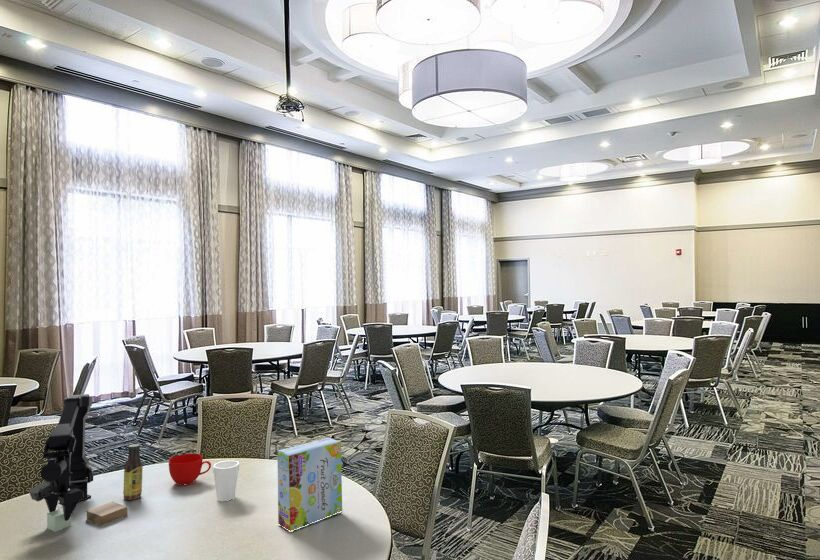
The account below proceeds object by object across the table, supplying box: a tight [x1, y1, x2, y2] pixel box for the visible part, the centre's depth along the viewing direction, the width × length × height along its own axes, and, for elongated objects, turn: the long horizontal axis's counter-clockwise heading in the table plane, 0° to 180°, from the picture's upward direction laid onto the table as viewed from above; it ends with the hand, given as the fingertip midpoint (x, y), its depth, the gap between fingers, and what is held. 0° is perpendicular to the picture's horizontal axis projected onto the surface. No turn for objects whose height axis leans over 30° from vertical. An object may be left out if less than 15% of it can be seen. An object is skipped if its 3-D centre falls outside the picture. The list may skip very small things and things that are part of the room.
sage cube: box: [46, 507, 72, 533], centre depth 172 cm, size 5×5×5 cm
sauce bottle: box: [122, 443, 144, 501], centre depth 197 cm, size 7×6×20 cm
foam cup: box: [212, 459, 240, 503], centre depth 196 cm, size 10×9×13 cm
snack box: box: [276, 437, 343, 531], centre depth 178 cm, size 22×9×26 cm, turn 134°
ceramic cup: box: [168, 453, 212, 486], centre depth 212 cm, size 13×17×10 cm
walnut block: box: [86, 501, 128, 527], centre depth 179 cm, size 9×9×4 cm
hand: (59, 517), depth 173 cm, fingers open, 9 cm apart
